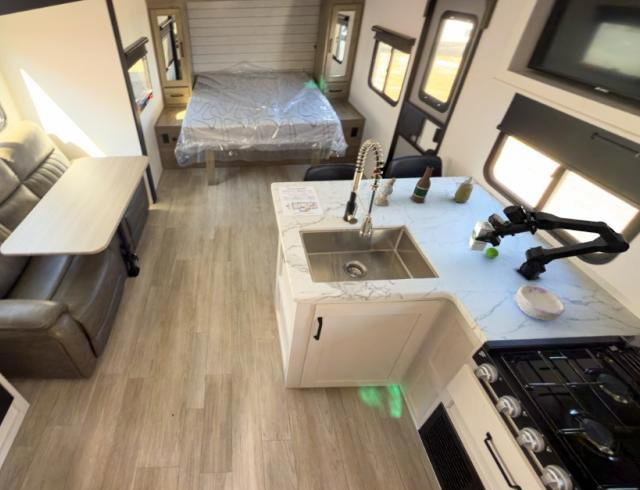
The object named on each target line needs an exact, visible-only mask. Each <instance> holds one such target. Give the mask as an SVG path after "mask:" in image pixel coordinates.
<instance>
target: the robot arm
mask: <svg viewBox="0 0 640 490" xmlns="http://www.w3.org/2000/svg"><path fill="white" fill-rule="evenodd" d="M502 213H503V214H504V216H505V217H506V218H507V219H506V220H505V219H504V218H503V217H502V216H500V215H499V214H497V213H496V212H494V213H493V214H491V215H489V216H488V218H487V222H489V223H491V225H492V227H493V229H494V231H492V232H487V233H486V235H483V236H480V237H477V238H475V240H477V241H482V242H487V244H491V246H492V248H495V247H500V245H501V242H502V239H505V237H508V236H511V237H516V235H517V234H523V233H529V232H530V234H531V235H532V236H535V234H536V233H537V232H538V230H540V231H554V230H567V231H576V232H582V233H584V232H585V233H591V234H598V235H599V236H597V237H595V238H594V239H593V240H588V241H583V242H579V243H578V242H577V243H574V244H568V245H563V246H558V247H553V248H543V245H539V246H535V247H530V248H527V250H526V251H525V253H524V255H525V258H526V261H524V262H523V263H522V264H521V265H520V267H519V268H517V269H516V272H517V273H518V274H520V275H521V276H522V277H523V278H525V279H526V280H527V281H533V280H538V279H540V278H541V277H540V275H541V274H544V273H546V272H547V269H546V265H548V264H550V263H551V262H553V261H556V260H561V259H566V258H573V257H577V256H584V255H590V254H595V253H596V254H597V253H602V254H603V253H604V254H608V255H610V254H622V253H626V252H627V251H628V250H629V249H630V247H631V246H630V244H629V242H628V240H627V239H626V237H625V236H624V234H622V233H620V232H617V231H616V230H615V229H613V228H612V227H611V226H610V225H609V224H608V223H607V222H605V221H602V220H599V221H595V220H586V219H578V218H570V217H561V216H557V215H555V214H554V213H549V212H545V211H528V210H525V209H524V207H523V206H522V205H520V204H519V205H516V204H513V205H508V206H506V207H504V209H503V210H502Z"/></svg>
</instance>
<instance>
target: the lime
mask: <svg viewBox="0 0 640 490" xmlns="http://www.w3.org/2000/svg"><path fill="white" fill-rule="evenodd" d="M499 253H500V252H499V250H498V249H497V248H495V247H488V248H487V249H485V255H486V256H487V258H492V259H495V258H498V256H499Z"/></svg>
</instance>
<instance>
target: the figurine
mask: <svg viewBox="0 0 640 490" xmlns="http://www.w3.org/2000/svg"><path fill="white" fill-rule="evenodd" d="M396 182H397V180H396V177H392V178H390V179H389V180H387V182H386V183H385V184H384V185H383V186H381V188H380V194H378V195H377V197H376V198H374V203H375V204H376V205H378V206H387V205H389V201H388V197H389V196H390V195H392V194H393V192H394V190H393V187H394V186H395V183H396Z"/></svg>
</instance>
